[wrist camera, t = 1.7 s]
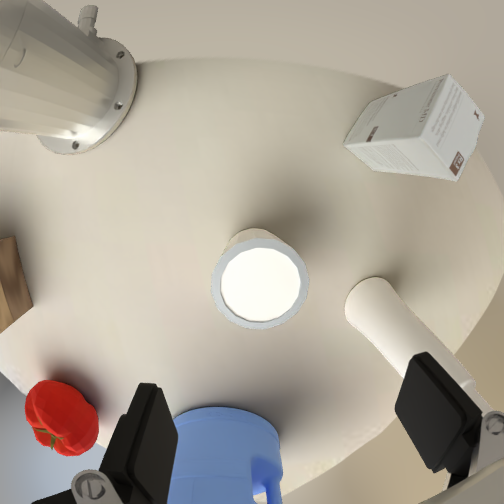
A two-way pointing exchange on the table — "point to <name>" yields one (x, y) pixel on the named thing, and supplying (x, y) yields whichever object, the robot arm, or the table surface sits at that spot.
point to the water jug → (225, 458)
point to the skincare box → (419, 130)
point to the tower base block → (13, 278)
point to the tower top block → (4, 312)
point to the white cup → (259, 280)
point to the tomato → (61, 418)
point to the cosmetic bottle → (402, 333)
